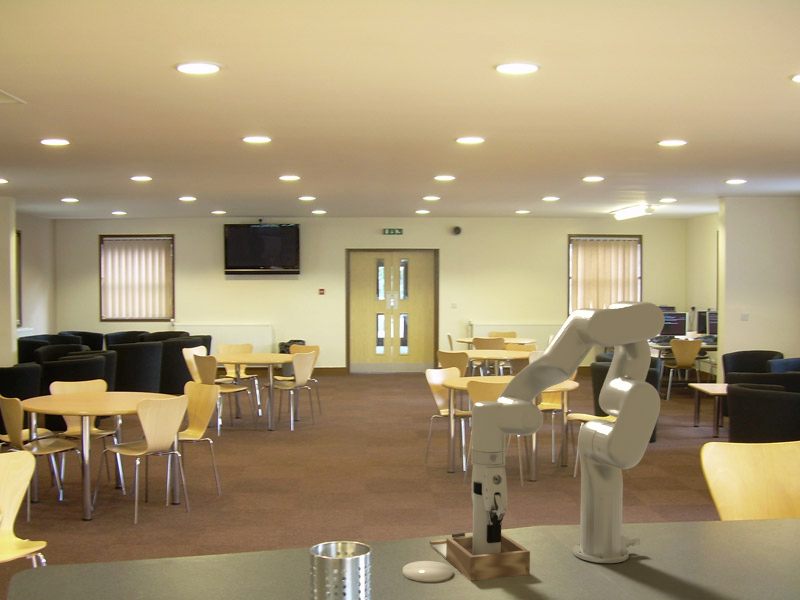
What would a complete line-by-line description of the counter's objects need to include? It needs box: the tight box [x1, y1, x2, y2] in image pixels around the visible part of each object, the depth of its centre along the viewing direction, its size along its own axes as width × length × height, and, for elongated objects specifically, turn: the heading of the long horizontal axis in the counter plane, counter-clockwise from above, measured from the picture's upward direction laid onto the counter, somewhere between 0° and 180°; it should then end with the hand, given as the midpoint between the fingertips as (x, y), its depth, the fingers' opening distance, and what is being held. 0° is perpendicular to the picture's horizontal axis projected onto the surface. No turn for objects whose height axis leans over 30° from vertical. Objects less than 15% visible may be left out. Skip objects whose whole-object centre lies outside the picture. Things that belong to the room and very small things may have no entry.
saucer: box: [402, 560, 454, 583], centre depth 179 cm, size 11×11×1 cm
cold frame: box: [429, 532, 531, 582], centre depth 189 cm, size 14×25×6 cm, turn 18°
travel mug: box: [472, 482, 501, 555], centre depth 183 cm, size 6×7×20 cm
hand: (487, 537), depth 184 cm, fingers closed on travel mug, 6 cm apart
